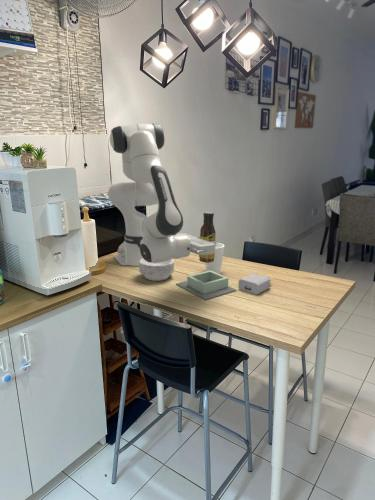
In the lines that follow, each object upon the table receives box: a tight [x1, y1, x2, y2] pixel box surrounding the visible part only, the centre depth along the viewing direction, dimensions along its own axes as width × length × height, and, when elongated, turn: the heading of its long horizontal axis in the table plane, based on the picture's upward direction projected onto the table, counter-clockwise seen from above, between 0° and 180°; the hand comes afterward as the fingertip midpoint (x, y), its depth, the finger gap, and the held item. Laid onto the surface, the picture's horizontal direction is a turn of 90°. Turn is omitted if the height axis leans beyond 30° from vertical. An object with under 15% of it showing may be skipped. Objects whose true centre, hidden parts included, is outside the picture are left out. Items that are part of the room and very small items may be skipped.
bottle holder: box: [186, 270, 229, 294], centre depth 158 cm, size 11×12×4 cm
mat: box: [175, 280, 237, 301], centre depth 158 cm, size 20×16×1 cm
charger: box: [237, 273, 272, 295], centre depth 159 cm, size 5×9×15 cm
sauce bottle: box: [198, 211, 217, 264], centre depth 153 cm, size 6×6×20 cm
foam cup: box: [204, 242, 225, 275], centre depth 174 cm, size 10×9×13 cm
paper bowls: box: [138, 259, 175, 282], centre depth 169 cm, size 15×15×8 cm
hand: (209, 240), depth 154 cm, fingers closed on sauce bottle, 6 cm apart
